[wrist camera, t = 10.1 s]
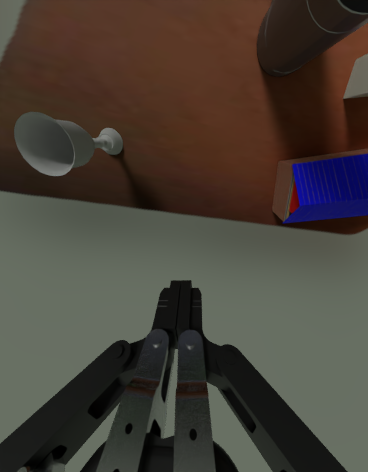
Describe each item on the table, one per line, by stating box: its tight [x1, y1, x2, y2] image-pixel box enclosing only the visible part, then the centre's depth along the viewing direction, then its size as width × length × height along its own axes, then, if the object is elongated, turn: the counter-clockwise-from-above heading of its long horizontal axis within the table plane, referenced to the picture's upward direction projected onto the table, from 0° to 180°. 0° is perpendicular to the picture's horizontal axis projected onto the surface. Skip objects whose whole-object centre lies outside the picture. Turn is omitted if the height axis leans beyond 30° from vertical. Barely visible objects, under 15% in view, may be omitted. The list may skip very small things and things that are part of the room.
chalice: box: [14, 112, 123, 176], centre depth 28 cm, size 7×7×18 cm
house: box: [272, 148, 368, 223], centre depth 32 cm, size 12×20×12 cm, turn 99°
